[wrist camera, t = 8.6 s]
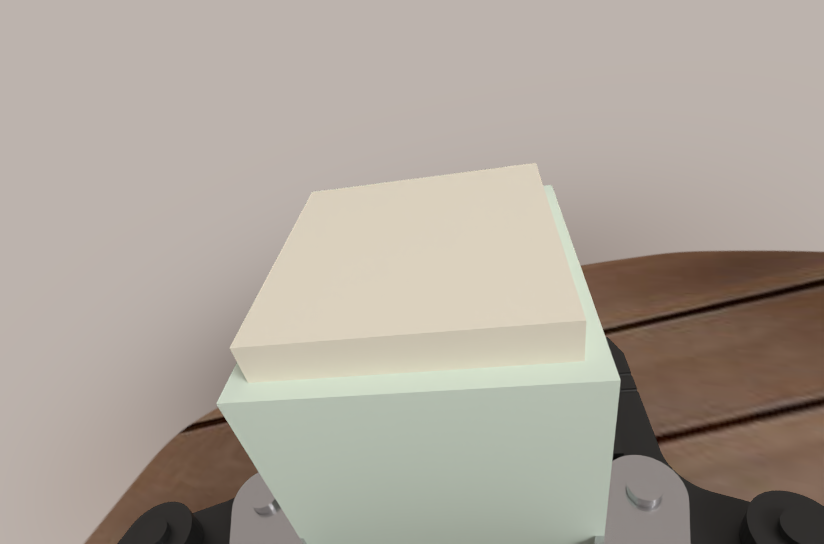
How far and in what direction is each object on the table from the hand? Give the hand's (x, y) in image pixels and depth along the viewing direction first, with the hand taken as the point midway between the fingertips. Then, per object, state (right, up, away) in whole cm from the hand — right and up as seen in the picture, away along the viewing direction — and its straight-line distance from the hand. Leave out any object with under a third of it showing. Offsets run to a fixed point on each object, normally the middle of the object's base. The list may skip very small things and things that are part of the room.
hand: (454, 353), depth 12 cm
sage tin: (+1, -7, +2) cm, 7 cm away
